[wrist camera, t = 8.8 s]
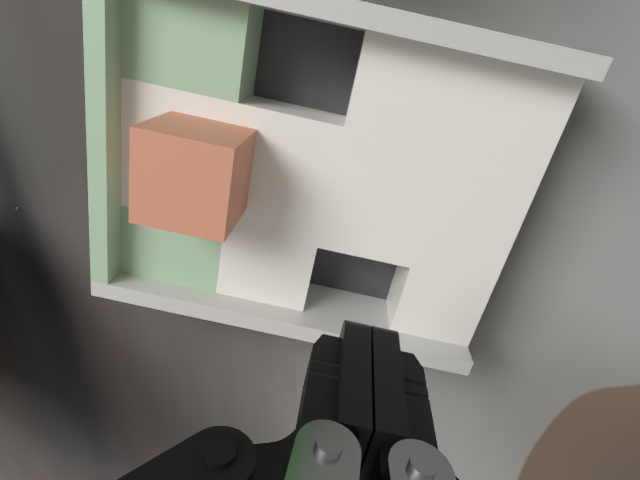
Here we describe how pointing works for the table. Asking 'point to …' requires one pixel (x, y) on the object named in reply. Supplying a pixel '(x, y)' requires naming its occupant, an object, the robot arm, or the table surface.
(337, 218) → the box
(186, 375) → the table surface
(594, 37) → the table surface
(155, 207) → the block
